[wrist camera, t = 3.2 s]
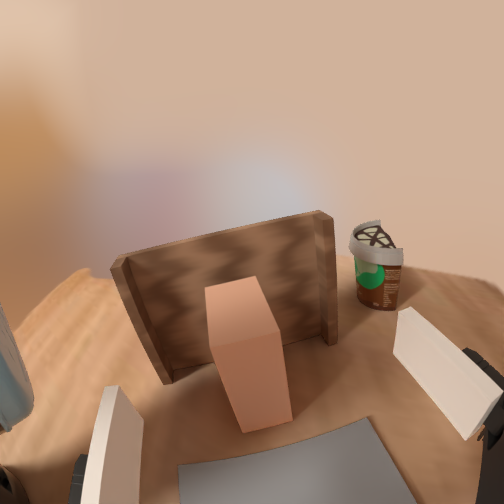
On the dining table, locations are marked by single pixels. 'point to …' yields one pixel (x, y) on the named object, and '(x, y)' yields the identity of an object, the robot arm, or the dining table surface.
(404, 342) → the robot arm
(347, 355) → the dining table surface
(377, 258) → the food container
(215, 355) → the carton
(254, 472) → the slate mat
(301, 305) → the brown wooden board
